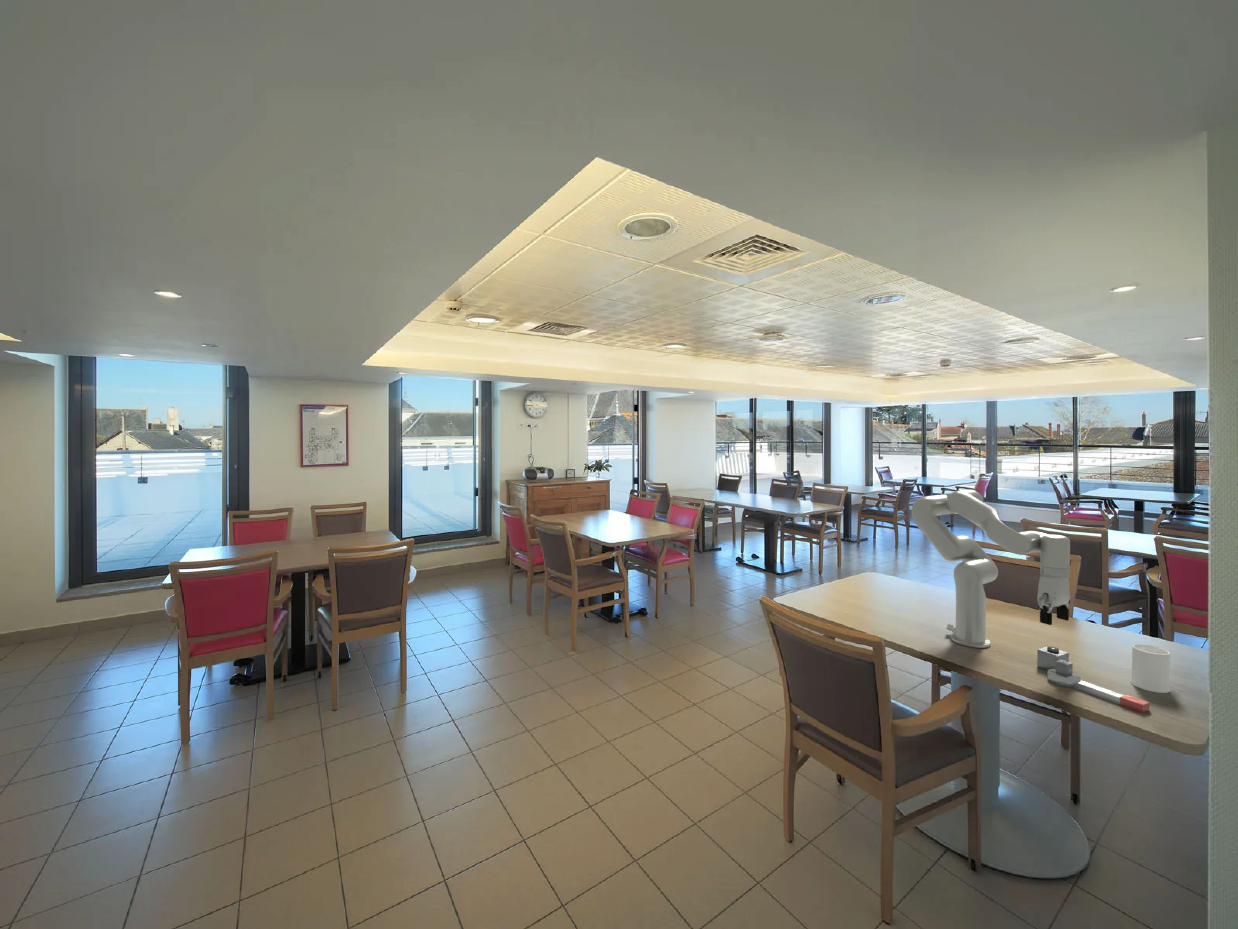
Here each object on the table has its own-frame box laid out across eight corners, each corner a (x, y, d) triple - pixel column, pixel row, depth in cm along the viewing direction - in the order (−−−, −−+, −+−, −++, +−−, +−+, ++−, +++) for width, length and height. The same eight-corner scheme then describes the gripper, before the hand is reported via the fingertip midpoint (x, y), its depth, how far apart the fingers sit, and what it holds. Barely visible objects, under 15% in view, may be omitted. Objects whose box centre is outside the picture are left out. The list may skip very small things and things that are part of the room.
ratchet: (1041, 679, 162) (1042, 659, 162) (1056, 674, 166) (1056, 655, 165) (1138, 715, 141) (1139, 692, 140) (1153, 708, 144) (1153, 686, 144)
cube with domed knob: (1037, 666, 171) (1037, 646, 171) (1047, 663, 174) (1047, 643, 173) (1058, 673, 166) (1058, 653, 166) (1068, 670, 168) (1068, 650, 168)
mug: (1154, 678, 162) (1155, 642, 161) (1187, 691, 153) (1188, 653, 153) (1122, 681, 160) (1123, 644, 160) (1153, 694, 152) (1154, 655, 151)
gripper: (1056, 566, 175) (1055, 614, 176) (1026, 572, 169) (1026, 622, 169) (1082, 571, 168) (1082, 621, 169) (1053, 577, 162) (1052, 629, 162)
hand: (1054, 621), depth 169 cm, fingers open, 9 cm apart
